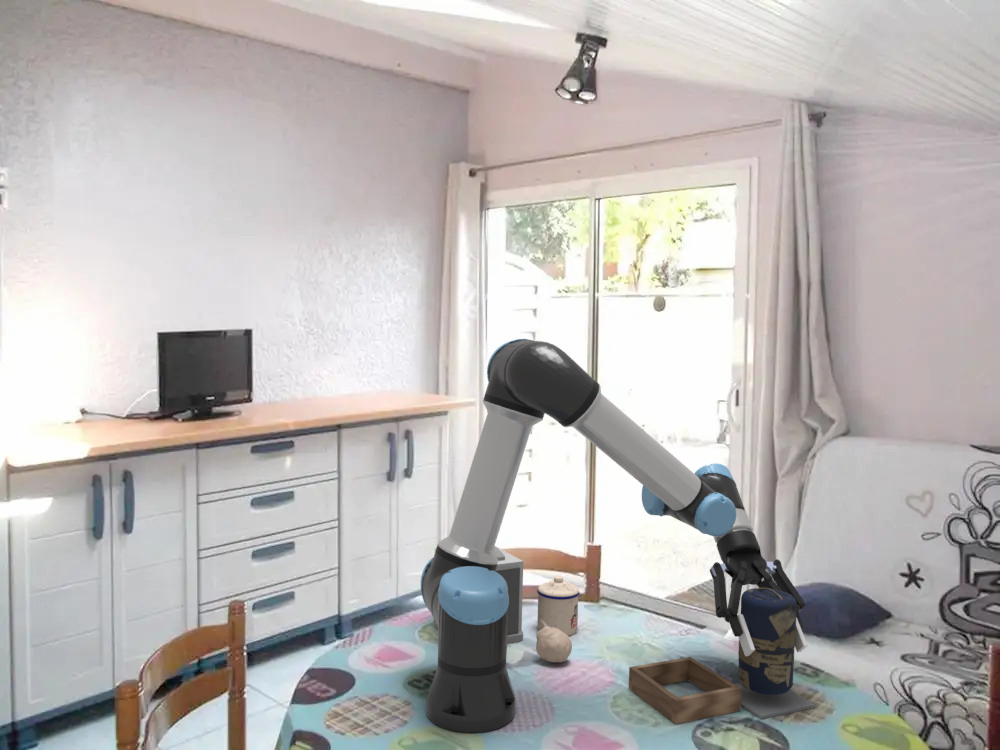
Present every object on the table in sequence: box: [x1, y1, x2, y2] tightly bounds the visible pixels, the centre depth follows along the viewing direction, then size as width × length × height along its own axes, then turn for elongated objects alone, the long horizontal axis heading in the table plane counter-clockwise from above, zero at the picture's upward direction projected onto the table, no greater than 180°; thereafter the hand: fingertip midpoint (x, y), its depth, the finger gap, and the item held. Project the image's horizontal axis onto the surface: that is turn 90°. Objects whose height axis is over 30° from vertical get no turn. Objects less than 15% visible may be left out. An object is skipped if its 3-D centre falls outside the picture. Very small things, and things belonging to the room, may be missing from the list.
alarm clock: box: [433, 545, 524, 645], centre depth 180 cm, size 18×13×18 cm
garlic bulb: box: [535, 620, 573, 664], centre depth 166 cm, size 7×6×8 cm
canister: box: [737, 587, 797, 695], centre depth 151 cm, size 10×10×18 cm
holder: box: [628, 656, 741, 725], centre depth 150 cm, size 14×14×4 cm
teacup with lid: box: [536, 575, 581, 637], centre depth 184 cm, size 12×9×12 cm
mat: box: [734, 682, 816, 720], centre depth 152 cm, size 12×12×1 cm
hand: (776, 650), depth 148 cm, fingers closed on canister, 9 cm apart
